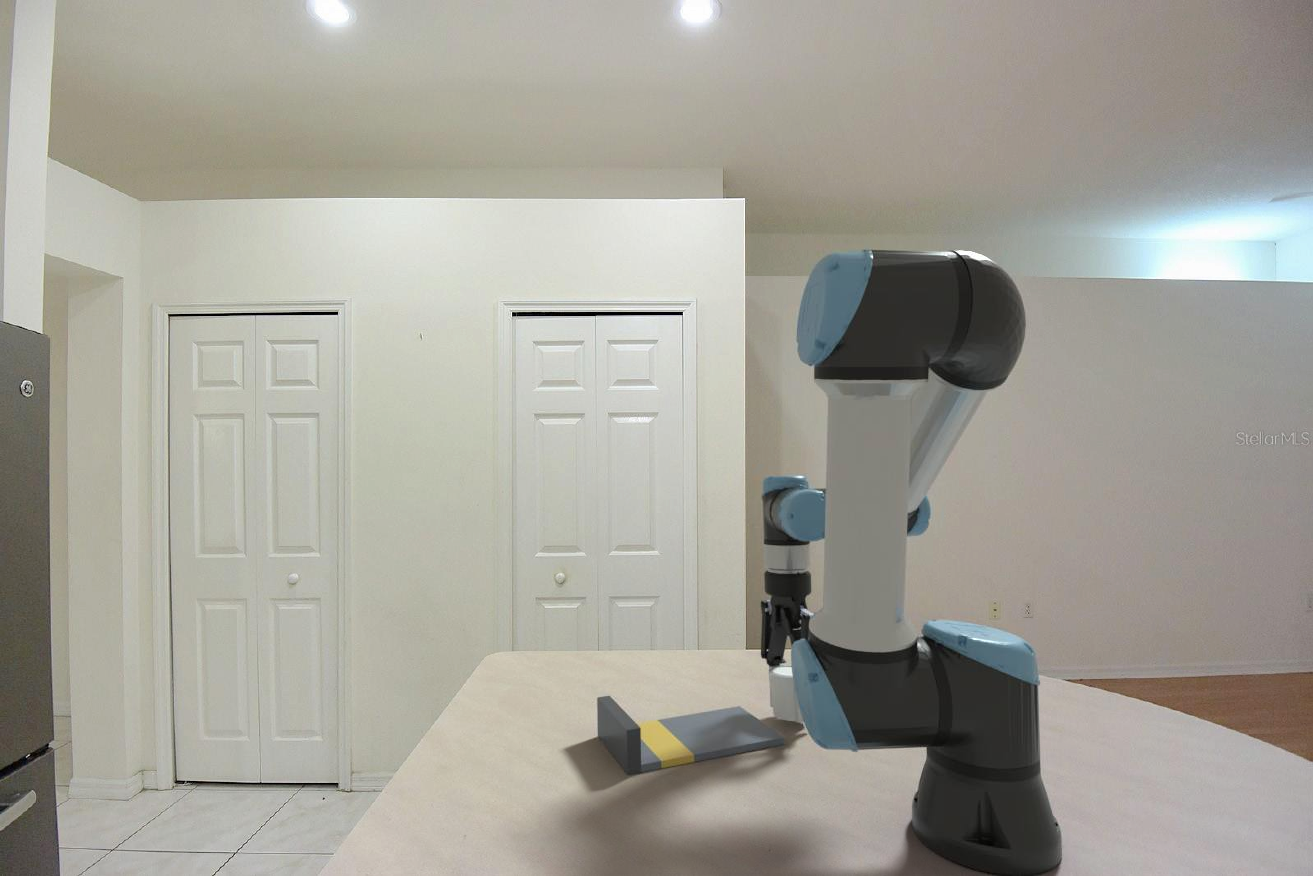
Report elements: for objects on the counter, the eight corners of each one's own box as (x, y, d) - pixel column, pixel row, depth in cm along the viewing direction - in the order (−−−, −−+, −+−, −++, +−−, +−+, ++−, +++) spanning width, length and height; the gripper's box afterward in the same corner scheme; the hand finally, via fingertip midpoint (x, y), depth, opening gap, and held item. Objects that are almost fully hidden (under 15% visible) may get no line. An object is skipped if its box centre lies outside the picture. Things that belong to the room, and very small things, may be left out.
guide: (784, 744, 101) (784, 703, 101) (627, 775, 92) (626, 730, 92) (739, 712, 114) (738, 676, 114) (597, 736, 105) (597, 697, 105)
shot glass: (816, 722, 106) (815, 676, 106) (772, 722, 106) (771, 677, 106) (807, 707, 113) (806, 664, 113) (766, 707, 113) (765, 665, 113)
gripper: (844, 576, 103) (848, 730, 102) (774, 561, 121) (778, 692, 120) (802, 579, 100) (806, 738, 99) (737, 564, 118) (740, 698, 117)
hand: (791, 713), depth 109 cm, fingers closed on shot glass, 7 cm apart
